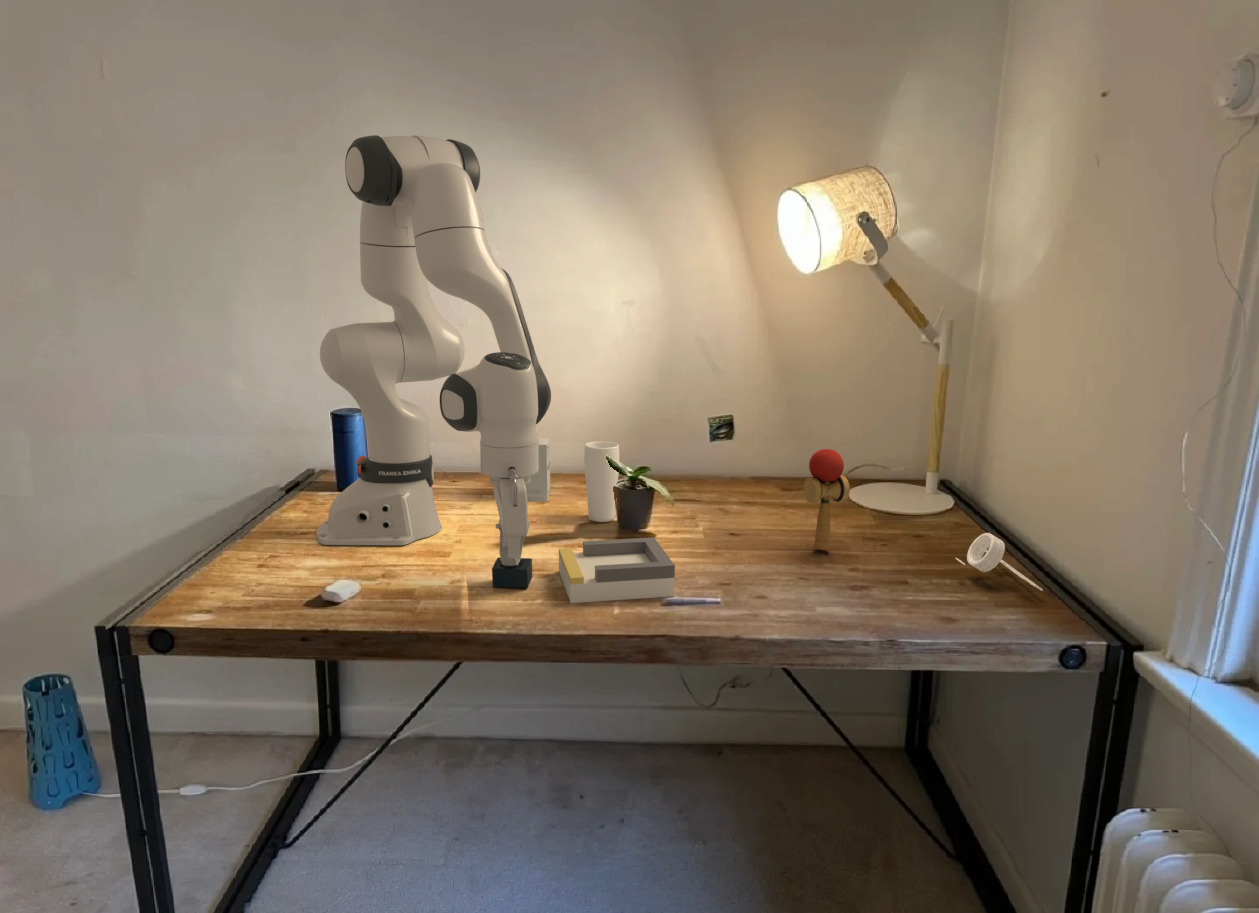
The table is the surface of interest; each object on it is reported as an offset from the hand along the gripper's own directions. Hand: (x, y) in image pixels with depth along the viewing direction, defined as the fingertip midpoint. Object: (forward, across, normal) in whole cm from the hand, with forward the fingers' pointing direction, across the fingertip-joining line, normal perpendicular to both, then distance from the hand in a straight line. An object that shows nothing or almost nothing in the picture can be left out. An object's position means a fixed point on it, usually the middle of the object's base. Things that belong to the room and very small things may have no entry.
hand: (511, 546), depth 143 cm
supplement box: (+7, +50, -8) cm, 51 cm away
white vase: (+7, +33, -20) cm, 39 cm away
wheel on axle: (+6, -9, -77) cm, 77 cm away
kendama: (+6, +9, -56) cm, 57 cm away
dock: (+6, -2, -16) cm, 17 cm away
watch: (+6, 0, 0) cm, 6 cm away
